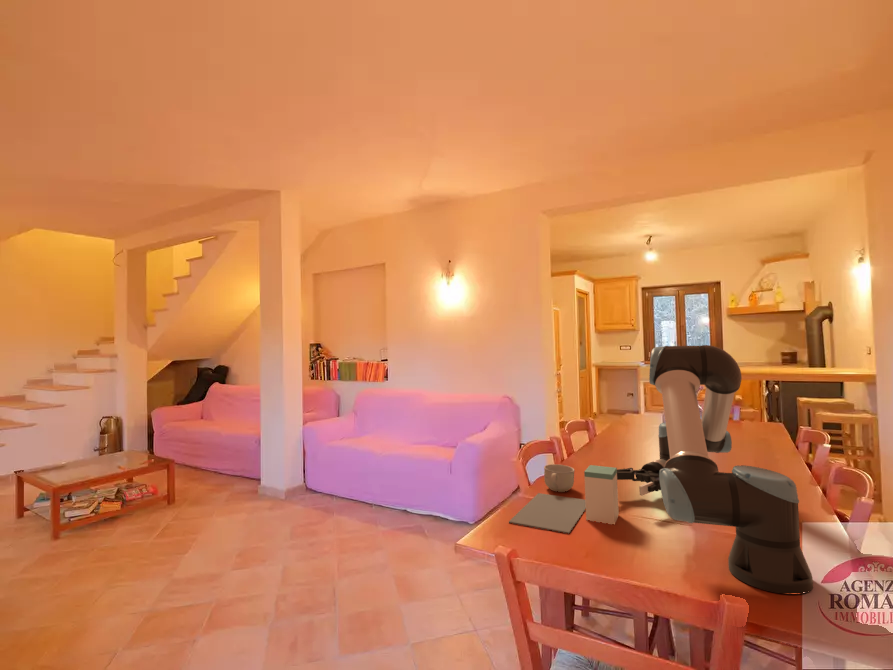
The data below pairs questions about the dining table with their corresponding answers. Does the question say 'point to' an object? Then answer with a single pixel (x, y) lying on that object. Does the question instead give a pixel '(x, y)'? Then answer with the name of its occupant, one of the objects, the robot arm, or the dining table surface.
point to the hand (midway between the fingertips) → (620, 485)
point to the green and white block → (601, 494)
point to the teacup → (559, 477)
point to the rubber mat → (551, 513)
